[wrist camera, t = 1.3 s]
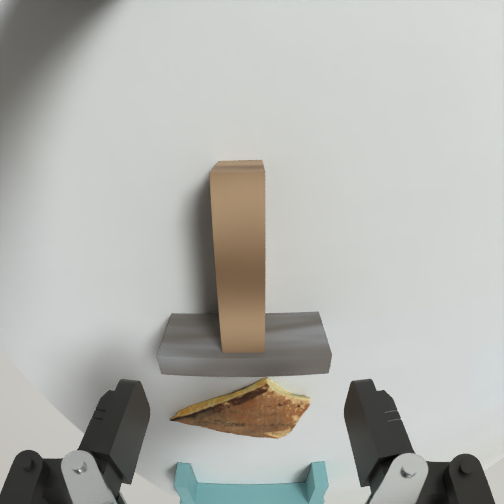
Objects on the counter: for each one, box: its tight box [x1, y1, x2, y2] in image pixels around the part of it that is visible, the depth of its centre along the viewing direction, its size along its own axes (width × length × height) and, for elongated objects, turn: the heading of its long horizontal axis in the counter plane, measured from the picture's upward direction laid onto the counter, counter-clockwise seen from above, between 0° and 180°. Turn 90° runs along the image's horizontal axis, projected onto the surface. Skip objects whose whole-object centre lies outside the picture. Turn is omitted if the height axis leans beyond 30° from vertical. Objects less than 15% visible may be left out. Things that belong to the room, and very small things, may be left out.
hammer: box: [157, 160, 332, 377], centre depth 17 cm, size 12×10×4 cm
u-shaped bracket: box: [174, 462, 329, 504], centre depth 30 cm, size 8×18×4 cm, turn 91°
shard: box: [170, 377, 311, 439], centre depth 24 cm, size 11×8×2 cm
